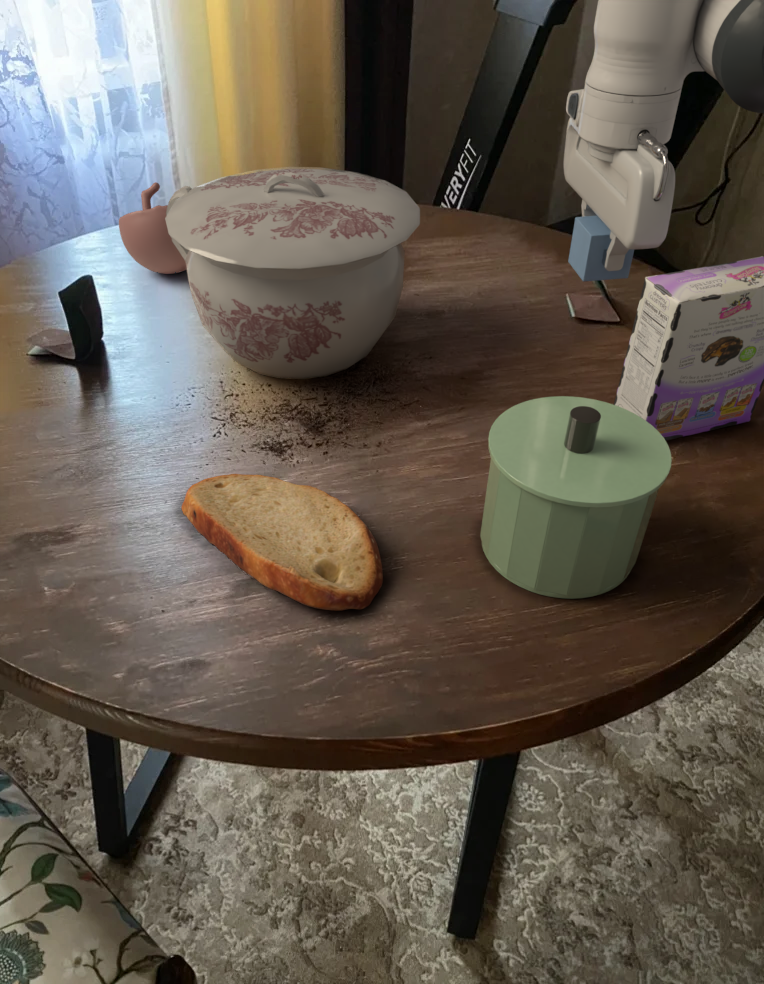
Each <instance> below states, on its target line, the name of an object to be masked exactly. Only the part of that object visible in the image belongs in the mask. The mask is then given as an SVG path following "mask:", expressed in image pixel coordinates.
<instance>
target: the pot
mask: <svg viewBox="0 0 764 984" xmlns="http://www.w3.org/2000/svg"><path fill="white" fill-rule="evenodd" d="M659 490H660V488H659V489H658V490H657V491H655V492H654V493H652V494H651V495H649V496H647V497H645V498H644V499H641V500H639V501H636V502H633V503H630V504H625V505H621V506H614V507H600V508H593V507H579V506H571V505H566V504H561V503H557V502H554V501H550V500H547V499H544V498H541V497H539V496H536V495H534V494H532V493H530V492H528V491H526V490H524V489H522V488H521V487H519V486H517V485H516V484H514V483H513V482H512V481H510V480H509V479H508V478H506V477H505V476H504V475H503V474H502V473H501V472H500V470H499V469H498V468H497V467H496V465H495V464H494V462H493V460H492V458H491V457H490V462H489V469H488V477H487V484H486V491H485V499H484V505H483V513H482V519H481V520H482V521H481V528H480V534H479V537H480V541H481V542H480V544H481V548H482V551H483V552H484V556H485V557H486V559H487V560H488V562H489V564H490V565H491V566H492V567H493V568H494V570H495V571H496V572H497V573H499V574H500V575H501V577H503V578H504V579H506V580H507V581H509V582H510V583H512V584H514V585H516V586H518V587H520V588H521V589H524V590H526V591H529V592H531V593H534V594H537V595H539V596H540V595H541V596H545V597H549V598H550V597H551V598H556V599H569V600H570V599H571V600H574V599H585V598H586V599H587V598H592V597H595V596H599V595H603V594H606V593H607V592H610V591H612V590H614V589H615V588H617V587H618V586H619V585H621V584H622V583H623V582H624V581H625V580H626V579H627V578H628V577H629V575H630V573H631V572H632V570H633V568H634V566H635V564H636V562H637V560H638V557H639V553H640V550H641V547H642V543H643V540H644V537H645V534H646V531H647V528H648V525H649V522H650V518H651V515H652V512H653V509H654V505H655V502H656V500H657V496H658V494H659Z"/></svg>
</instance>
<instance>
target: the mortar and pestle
mask: <svg viewBox="0 0 764 984" xmlns="http://www.w3.org/2000/svg"><path fill="white" fill-rule="evenodd" d="M160 189H161V185H160V184H159V183H158V182H153V183H152V184H151V185H150V187H148V188H147V189H144V190H142V191H141V193H140V199H141V209H142V210H141V209H140V210H135V211H132V212H128V213H125V214H124V215H122V216H120V217H119V219H118V229H119V230H118V231H119V235H120V238H121V241H122V243H123V246H124V248H125V250H126V251H127V253H128V254H129V255H130V256H131V258H132V259H133V260H134V261H135V262H137V264H139V266H142V267H143V268H145V269H146V270H149V271H150V272H154V273H157V272H158V273H157V274H164V275H165V274H166V275H170V274H171V275H172V274H178V273H181V272H184V271H187V269H186V263H185V260H184V258H183V257H182V255H181V254H180V252H179V251H178V249H177V248H176V246H175V245H174V243H173V242H172V239H171V236H170V235H169V233H168V229H167V224H166V220H165V218H166V211H167V207H168V204H166V205H160V204H159V205H155V206H153V207H152V204H151V203H152V202H151V200H152V198H153V196H154V195H155V194H156V193H158V192H159V191H160ZM175 272H176V273H175Z"/></svg>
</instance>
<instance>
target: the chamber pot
mask: <svg viewBox="0 0 764 984" xmlns="http://www.w3.org/2000/svg"><path fill="white" fill-rule="evenodd" d="M167 205H168V207H167V211H166V218H165V220H166V224H167V229H168V233H169V235H170V236H171V239H172V242H173V243H174V245H175V246H176V248H177V249H178V251H179V252H180V254H181V255H182V257H183V258H184V260H185V263H186V275H187V282H188V286H189V289H190V294H191V297H192V300H193V303H194V306H195V309H196V311H197V315H198V317H199V320H200V322H201V325H202V327H203V328H204V329H205V330H206V331H207V332H208V334H209V335H210V336H211V337H212V338H213V340H214V341H215V342H216V343H217V344H218V345H219V346H220V347H221V349H222V350H223V351H224V352H225V353H226V354H227V355H228V356H229V357H230V358H231V359H232V360H233V361H234V362H235V363H237V364H238V365H240V366H242V367H244V368H245V369H248V370H250V371H252V372H254V373H256V374H259V375H264V376H266V377H273V378H277V379H289V380H290V379H291V380H305V379H306V380H307V379H308V380H309V379H314V378H320V377H321V378H322V377H328V376H331V375H333V374H337V373H339V372H342V371H346V370H348V369H349V368H351V367H353V366H355V365H356V364H357V363H359V362H360V361H362V360H363V359H365V358H366V357H367V356H368V355H369V354H370V352H371V351H372V349H374V347H375V346H376V344H377V343H378V341H380V339H381V337H382V336H383V335H384V333H385V332H386V330H387V329H388V327H389V326H390V325H391V324H392V322H393V321H394V319H395V318H396V316H397V312H398V309H399V304H400V300H401V297H402V293H403V290H404V289H403V288H404V276H405V274H404V273H405V252H406V251H405V249H404V247H403V245H402V244H403V243H404V242H406V241H407V240H408V239H409V238H410V237H411V235H412V234H413V233H414V232H415V231H416V230H417V228H418V227H419V226H420V225H421V208H420V206H419V205H418V204H417V203H416V202H415V201H414V199H413V198H412V197H411V195H410V194H409V193H408V192H407V191H406V190H404V189H402V188H400V187H398V186H396V185H395V184H393V183H391V182H389V181H388V180H385V179H382V178H377V177H374V176H371V175H368V174H365V173H361V172H357V171H350V170H343V169H335V168H328V167H319V166H317V167H315V166H283V167H271V168H262V169H254V170H248V171H245V172H239V173H234V174H229V175H225V176H221V177H218V178H216V179H213V180H211V181H207V182H205V183H201V184H200V185H197V186H195V187H193V188H192V187H191V186H190V185H189V186H188V185H184V186H183V187H180V188H178V190H176V191H174V193H173V194H172V196H171V197H170V199H169V201H168V203H167Z"/></svg>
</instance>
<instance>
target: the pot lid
mask: <svg viewBox="0 0 764 984" xmlns="http://www.w3.org/2000/svg"><path fill="white" fill-rule="evenodd" d="M487 448H488V453H489V456H490V459H491V458H492V460H493V462H494V464H495V465H496V467H497V468H498V469H499V470H500V472H501V473H502V474H503V475H504V476H505V477H506V478H508V479H509V480H510V481H512V482H513V483H514V484H516V485H517V486H519V487H521V488H522V489H524V490H526V491H528V492H530V493H532V494H534V495H536V496H539V497H541V498H544V499H547V500H550V501H554V502H557V503H561V504H566V505H571V506H579V507H593V508H600V507H614V506H621V505H625V504H630V503H633V502H636V501H639V500H641V499H644V498H645V497H647V496H649V495H651V494H652V493H654V492H655V491H657V490H658V489H659V490H660V488H661V487H662V486H663V485H664V484H665V482H666V481H667V479H668V477H669V474H670V472H671V469H672V463H673V459H672V452H671V449H670V446H669V444H668V442H667V440H666V441H665V439H664V437H663V436H662V435H661V434H660V433H659V431H658V430H657V429H655V428H654V427H653V426H652V425H651V424H650V423H648V422H647V421H646V420H644V419H643V418H641V417H639V416H638V415H636V414H634V413H632V412H630V411H628V410H626V409H624V408H621V407H619V406H616V405H614V403H609V402H607V401H602V400H599V399H598V400H597V399H595V398H588V397H583V396H582V397H581V396H573V395H572V396H571V395H569V396H568V395H566V396H565V395H557V396H554V395H553V396H544V397H537V398H533V399H529V400H526V401H522V402H519V403H518V404H515V405H513V406H511V407H509V408H508V409H506V410H505V411H504V412H502V413H500V415H499V416H498V417H496V419H495V420H494V422H493V423H492V425H491V426H490V430H489V431H488V439H487ZM659 490H658V491H659Z"/></svg>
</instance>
